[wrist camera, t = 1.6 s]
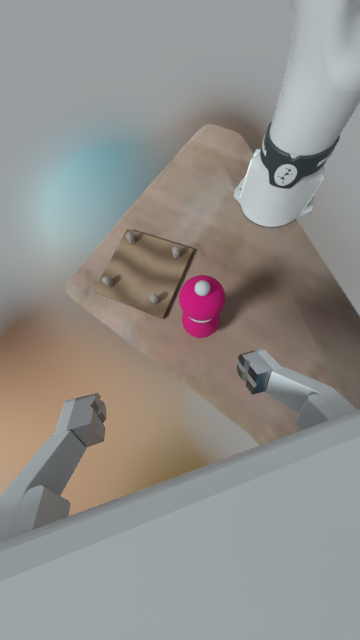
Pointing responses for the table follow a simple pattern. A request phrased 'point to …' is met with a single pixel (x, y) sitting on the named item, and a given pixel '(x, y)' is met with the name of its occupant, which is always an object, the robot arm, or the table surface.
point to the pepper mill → (201, 305)
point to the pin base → (145, 272)
